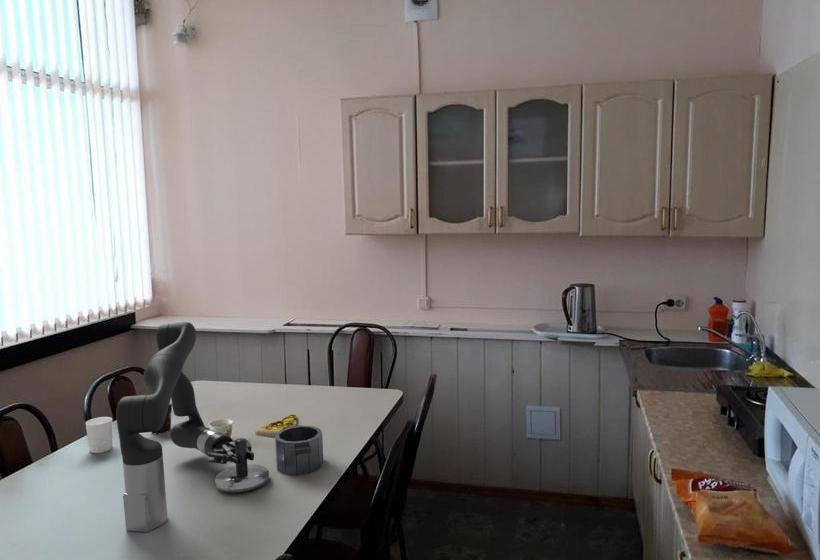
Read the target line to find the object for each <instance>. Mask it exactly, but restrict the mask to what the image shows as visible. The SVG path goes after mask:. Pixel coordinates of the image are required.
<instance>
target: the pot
mask: <svg viewBox="0 0 820 560" xmlns="http://www.w3.org/2000/svg"><path fill="white" fill-rule="evenodd" d="M323 439H324V438H323V431H322V430H321V428H319V427H316V426H312V425H301V424H298V425H296V426H291V427H288V428H286V429H283V430H280V431H279V432H278V433H277V434H276V435H275V437H274V443H275V461H276V462H275V463H276V464H275V465H276V468H277V472H279V473H281V474H283V475H286V474H287V476H301V475H307V474H311V473H313V472H317V471H318V470H320V469H322V467H323V465H324V462H325V461H324V444H323V443H324V442H323Z"/></svg>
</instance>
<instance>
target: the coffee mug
mask: <svg viewBox="0 0 820 560" xmlns="http://www.w3.org/2000/svg"><path fill="white" fill-rule="evenodd" d="M172 412H173V407H172V400H170V403H169V407H168V411H167V415H166V419H165V422H164V424H163V426H162V427H161V429H159V430H158V431H154V432H151V433H152V434H154V433H156V435H159V433H161V434H165V433H168V432H170V431H171V430H170V429H172ZM169 430H170V431H169ZM167 431H168V432H167Z"/></svg>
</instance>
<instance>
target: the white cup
mask: <svg viewBox="0 0 820 560" xmlns="http://www.w3.org/2000/svg"><path fill="white" fill-rule="evenodd" d="M85 428H86V436H87V441H88V446H89V451H90V453H91V454H100V453H104V452H105V453H106V452H108V451H110V450H112V449H113V418H112V417H111V416H100V417H94V418H92V419H91V418H90V419H88V420H87V421H85Z"/></svg>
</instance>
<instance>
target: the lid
mask: <svg viewBox="0 0 820 560" xmlns="http://www.w3.org/2000/svg"><path fill="white" fill-rule="evenodd" d="M246 440H247V439H246V438H245V437H244V438H242V437H241V438H240V437H239V438H237V439H235V440H234V442H235V454H236V455H238V456H240V457H242V464H241V465H238V464H235V465H234V466H230V467H227V468H225V469H222V470H221V471H220V472H218V473H217V474H216V476H215V479H214V480H215V481H214V483H215V484H214V485H215V487H216V488H217V490H219V491H221V492H226V493H243V492H249V491H252V490H255V489H258V488H260V487H262V486H264V485H265V484H266V483H267V482H268V481H269V479H270V472H269V471H270V470H269V469H268V467H266V466H264V465H261V464H257V463H256V464H254V463H248V459H247V446H246Z"/></svg>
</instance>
